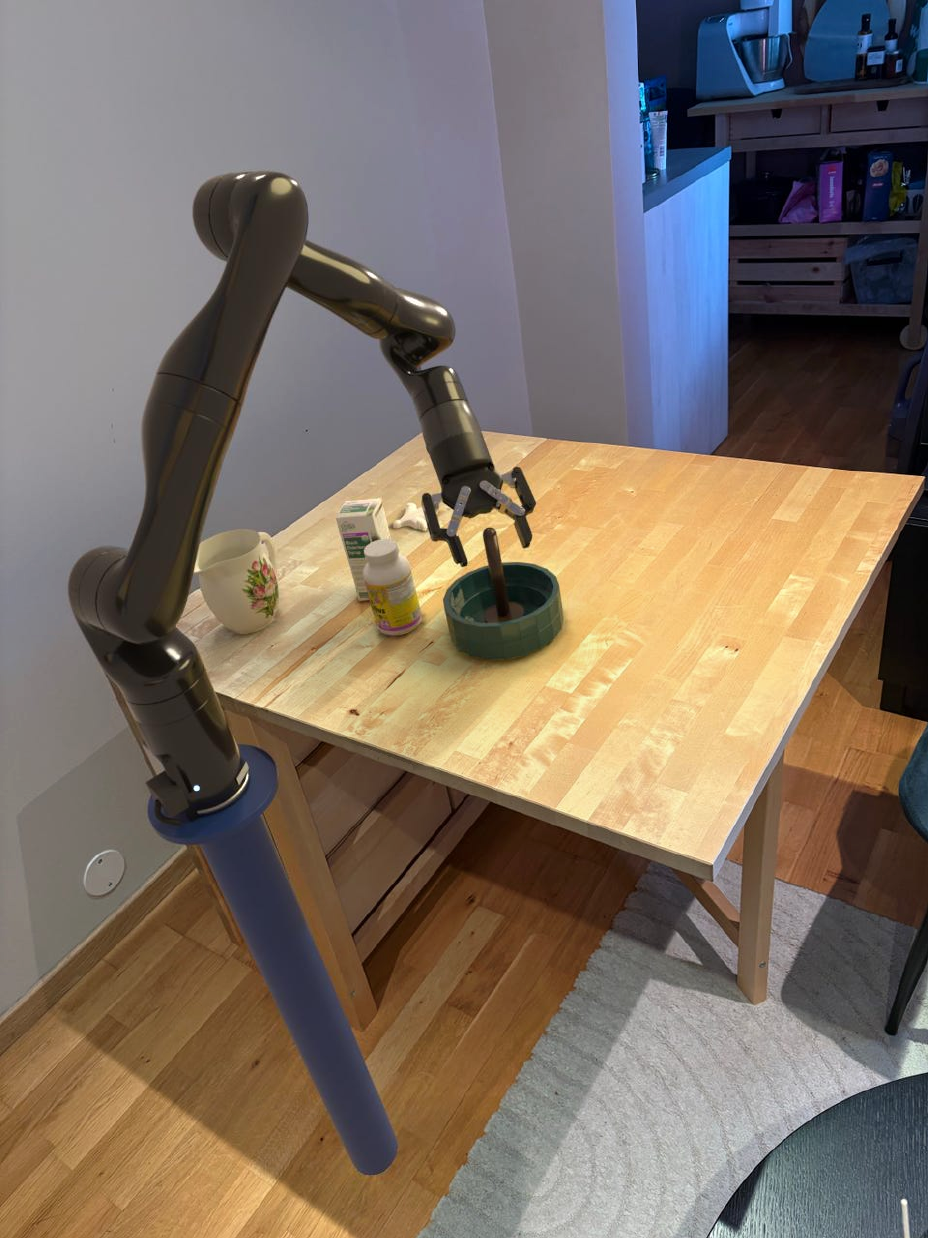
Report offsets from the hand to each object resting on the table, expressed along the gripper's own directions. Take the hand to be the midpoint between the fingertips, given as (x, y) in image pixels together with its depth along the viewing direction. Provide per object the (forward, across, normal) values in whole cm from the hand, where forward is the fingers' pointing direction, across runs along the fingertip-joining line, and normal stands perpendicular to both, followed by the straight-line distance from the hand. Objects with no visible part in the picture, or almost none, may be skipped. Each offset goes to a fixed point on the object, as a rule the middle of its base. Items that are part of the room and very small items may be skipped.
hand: (496, 555), depth 119 cm
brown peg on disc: (+7, 0, +9) cm, 12 cm away
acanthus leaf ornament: (-20, -3, +38) cm, 43 cm away
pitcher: (-8, -33, +26) cm, 43 cm away
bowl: (+8, 0, +10) cm, 13 cm away
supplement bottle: (+1, -13, +16) cm, 21 cm away
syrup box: (-6, -14, +24) cm, 28 cm away
